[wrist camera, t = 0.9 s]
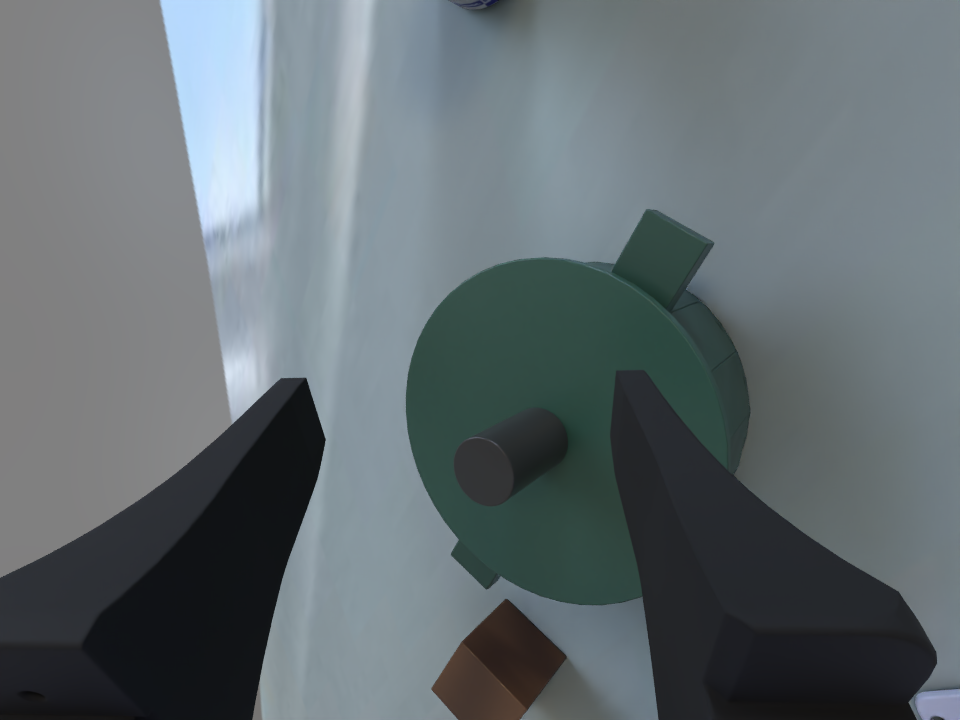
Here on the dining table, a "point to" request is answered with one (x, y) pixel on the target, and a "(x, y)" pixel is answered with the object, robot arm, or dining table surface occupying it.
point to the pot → (664, 276)
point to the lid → (546, 419)
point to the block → (498, 668)
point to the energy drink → (474, 3)
